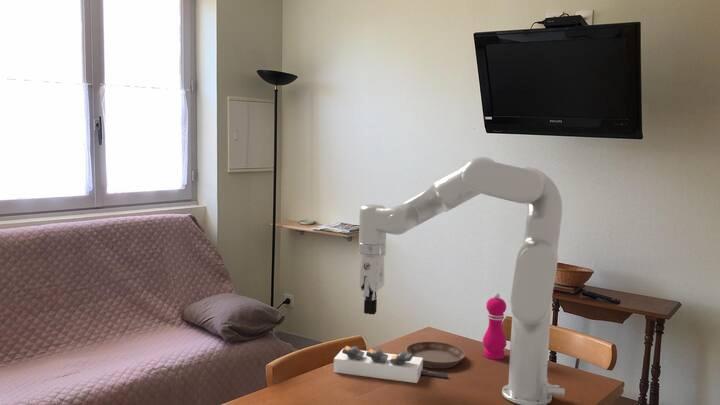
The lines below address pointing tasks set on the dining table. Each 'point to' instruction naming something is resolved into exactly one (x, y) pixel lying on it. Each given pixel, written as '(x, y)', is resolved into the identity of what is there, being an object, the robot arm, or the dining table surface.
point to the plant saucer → (436, 354)
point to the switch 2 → (401, 358)
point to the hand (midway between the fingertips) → (370, 313)
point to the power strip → (383, 368)
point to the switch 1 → (353, 352)
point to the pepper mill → (495, 329)
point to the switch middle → (377, 355)
